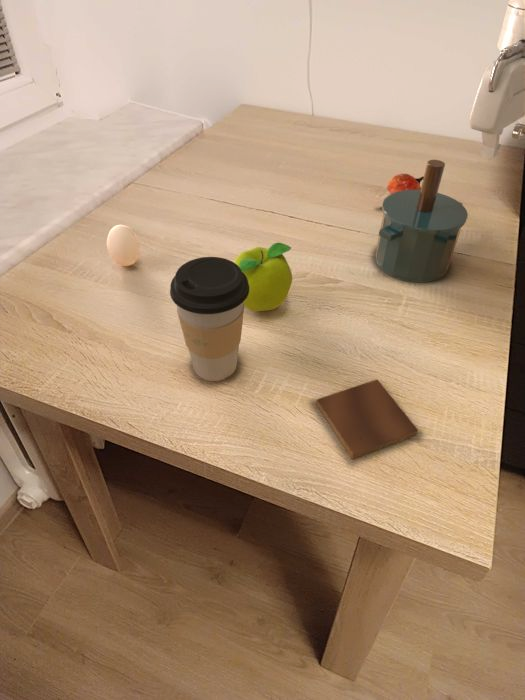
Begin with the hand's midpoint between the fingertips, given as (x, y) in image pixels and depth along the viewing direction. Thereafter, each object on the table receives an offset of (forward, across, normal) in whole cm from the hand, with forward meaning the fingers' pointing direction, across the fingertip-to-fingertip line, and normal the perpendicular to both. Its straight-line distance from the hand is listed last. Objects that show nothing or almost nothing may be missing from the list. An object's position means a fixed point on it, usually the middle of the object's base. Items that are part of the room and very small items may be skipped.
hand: (504, 147), depth 71 cm
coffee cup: (+20, -45, +13) cm, 51 cm away
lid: (+11, -4, +8) cm, 14 cm away
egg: (+19, -40, +42) cm, 61 cm away
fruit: (+20, -31, +18) cm, 41 cm away
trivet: (+21, -38, -7) cm, 44 cm away
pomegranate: (+21, +11, +21) cm, 31 cm away
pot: (+21, -4, +8) cm, 23 cm away
